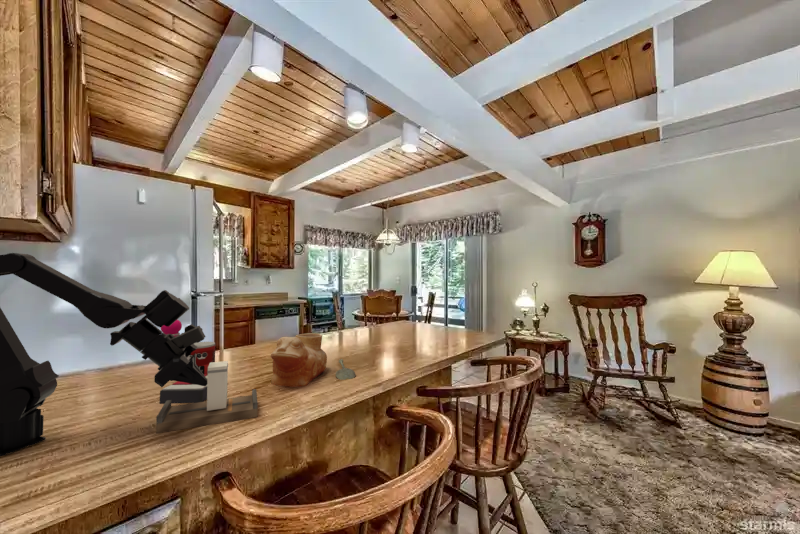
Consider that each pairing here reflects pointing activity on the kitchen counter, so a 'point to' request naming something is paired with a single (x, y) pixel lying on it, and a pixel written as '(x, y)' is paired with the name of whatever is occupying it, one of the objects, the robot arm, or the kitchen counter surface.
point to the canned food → (204, 355)
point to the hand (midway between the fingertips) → (207, 384)
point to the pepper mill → (172, 328)
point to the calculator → (184, 393)
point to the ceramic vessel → (298, 360)
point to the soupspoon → (345, 372)
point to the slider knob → (217, 385)
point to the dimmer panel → (205, 413)
